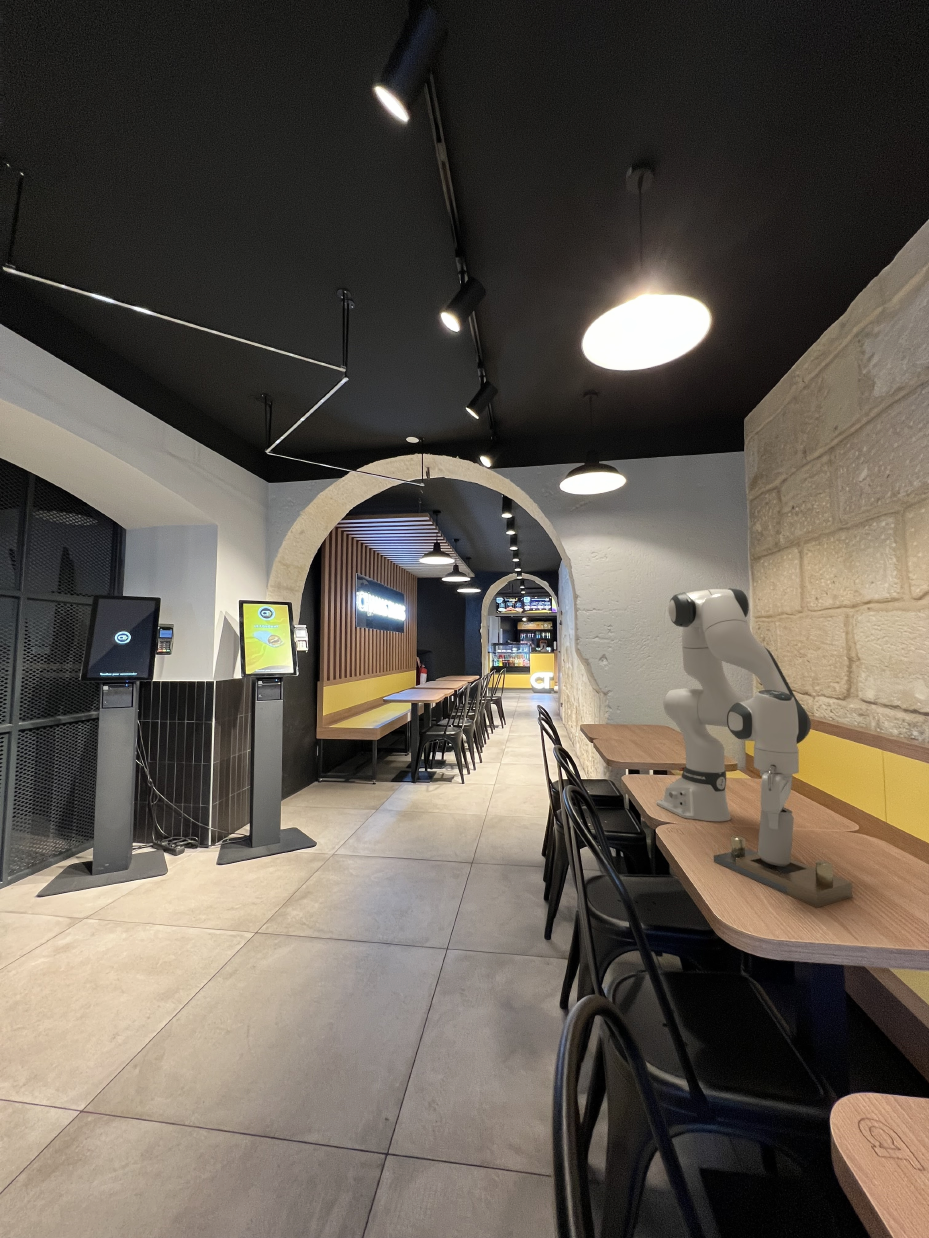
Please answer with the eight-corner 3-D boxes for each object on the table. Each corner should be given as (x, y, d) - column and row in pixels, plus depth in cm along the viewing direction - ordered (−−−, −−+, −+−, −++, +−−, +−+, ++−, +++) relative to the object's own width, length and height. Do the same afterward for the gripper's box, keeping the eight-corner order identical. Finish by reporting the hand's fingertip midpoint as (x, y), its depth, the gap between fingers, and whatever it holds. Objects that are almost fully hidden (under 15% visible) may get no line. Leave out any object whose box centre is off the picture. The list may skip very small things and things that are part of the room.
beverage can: (779, 869, 112) (784, 814, 113) (751, 856, 118) (755, 804, 118) (795, 865, 116) (800, 812, 116) (767, 853, 121) (771, 802, 121)
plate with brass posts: (713, 861, 125) (713, 832, 125) (747, 854, 130) (747, 826, 130) (816, 907, 103) (816, 871, 103) (852, 896, 108) (851, 862, 108)
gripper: (786, 771, 108) (787, 839, 107) (796, 757, 124) (797, 816, 123) (752, 767, 112) (752, 832, 111) (766, 754, 128) (766, 810, 127)
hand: (776, 823), depth 117 cm, fingers closed on beverage can, 6 cm apart
